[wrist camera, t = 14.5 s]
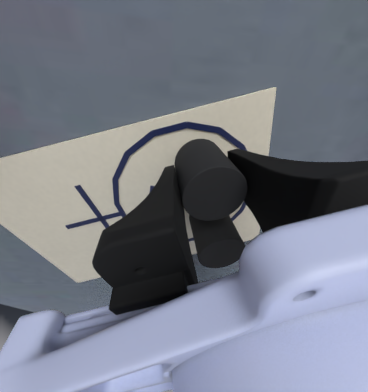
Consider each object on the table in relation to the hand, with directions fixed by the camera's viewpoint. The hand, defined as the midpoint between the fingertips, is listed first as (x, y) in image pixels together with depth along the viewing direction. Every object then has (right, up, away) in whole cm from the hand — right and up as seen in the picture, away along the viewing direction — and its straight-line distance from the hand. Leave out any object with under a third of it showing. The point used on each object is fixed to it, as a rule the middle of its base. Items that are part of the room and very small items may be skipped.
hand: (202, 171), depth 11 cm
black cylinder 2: (+1, -4, +4) cm, 6 cm away
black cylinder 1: (0, +1, +1) cm, 1 cm away
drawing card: (-5, -3, +4) cm, 7 cm away
